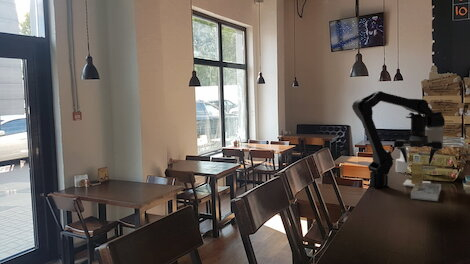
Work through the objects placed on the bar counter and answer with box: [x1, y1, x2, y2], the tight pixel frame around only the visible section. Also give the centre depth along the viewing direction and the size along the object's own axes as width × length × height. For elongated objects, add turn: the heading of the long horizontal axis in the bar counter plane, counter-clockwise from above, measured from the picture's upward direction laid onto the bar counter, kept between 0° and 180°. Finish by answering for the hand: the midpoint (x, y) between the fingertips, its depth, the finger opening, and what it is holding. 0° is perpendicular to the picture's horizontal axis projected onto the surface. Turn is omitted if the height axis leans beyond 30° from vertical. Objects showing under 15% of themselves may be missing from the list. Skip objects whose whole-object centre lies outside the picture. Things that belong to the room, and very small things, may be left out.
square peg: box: [410, 161, 424, 184], centre depth 162 cm, size 4×4×9 cm
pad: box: [402, 179, 432, 187], centre depth 162 cm, size 10×10×1 cm
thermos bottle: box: [425, 126, 444, 143], centre depth 180 cm, size 8×8×28 cm
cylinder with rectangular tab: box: [395, 146, 409, 174], centre depth 188 cm, size 9×9×12 cm
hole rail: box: [410, 182, 442, 202], centre depth 147 cm, size 18×9×2 cm, turn 147°
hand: (417, 163), depth 162 cm, fingers open, 9 cm apart
